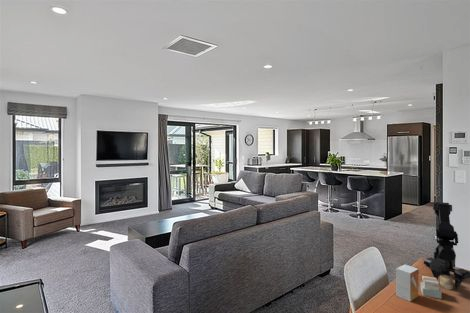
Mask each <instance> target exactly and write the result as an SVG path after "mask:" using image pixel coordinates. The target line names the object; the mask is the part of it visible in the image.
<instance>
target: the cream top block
mask: <svg viewBox="0 0 470 313" xmlns="http://www.w3.org/2000/svg"><path fill="white" fill-rule="evenodd" d="M421 277H422V278H421V279H422V281H421V282H422V283H423V286H424V288H426V289H432V290H438V291H439V288H440V281H438V280H439V279H438V280H437V279H436V278H434V276H433V277H431V276H425V275H422V276H421Z"/></svg>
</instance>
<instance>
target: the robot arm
mask: <svg viewBox="0 0 470 313" xmlns="http://www.w3.org/2000/svg"><path fill="white" fill-rule="evenodd" d="M432 210H433V211H434V215H435V216H436V218H437V229H435V236H436V237H435V238H436V243H437V244H438V245H437V246H436V248H435V251H434V252H433V257H428V258H427V257H426V258H424V259H423V265H425V266H426V267H427V268H428V269H429V270H430V272H431V273H432V275H433V278H436V279H437V280H439V277H440V275H447V276H450V277H452V278H453V280H454V290H455V291H456V290H458V289H459V288H460V286H461V284H462V283H463V282H464V280H468V279H470V270H467V269H464V268H458V269H457V268H456V260H457V259H456V257H457V255H456V252H455V251H456V250H455V249H454V247H455V246H458V244H459V234H458V232H457V231H455V227H454V225H452V224H451V220H450V218H451V217H450V215H451V212H453V204H451V203H449V202H443V201H442V202H440V201H435V203H432ZM451 273H453V275H454V276H453V275H452V274H451Z"/></svg>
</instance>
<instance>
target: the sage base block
mask: <svg viewBox="0 0 470 313" xmlns="http://www.w3.org/2000/svg"><path fill="white" fill-rule="evenodd" d="M419 284H420V290H421V294H422V296H424V297H429V298H434V299H435V298H436V299H440V300H442V290H441V287H439V291H438V290H432V289H426V288H424V286H423V283H422V281H420V283H419Z"/></svg>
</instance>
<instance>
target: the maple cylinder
mask: <svg viewBox="0 0 470 313" xmlns="http://www.w3.org/2000/svg"><path fill="white" fill-rule="evenodd" d="M453 280H454V277H453V276H452V277H450V276H447V275H440V276H439V288H440V289H441V288H442V289H444V290H449V291H450V290H453V289H454V288H453V285H454V283H453Z"/></svg>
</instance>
